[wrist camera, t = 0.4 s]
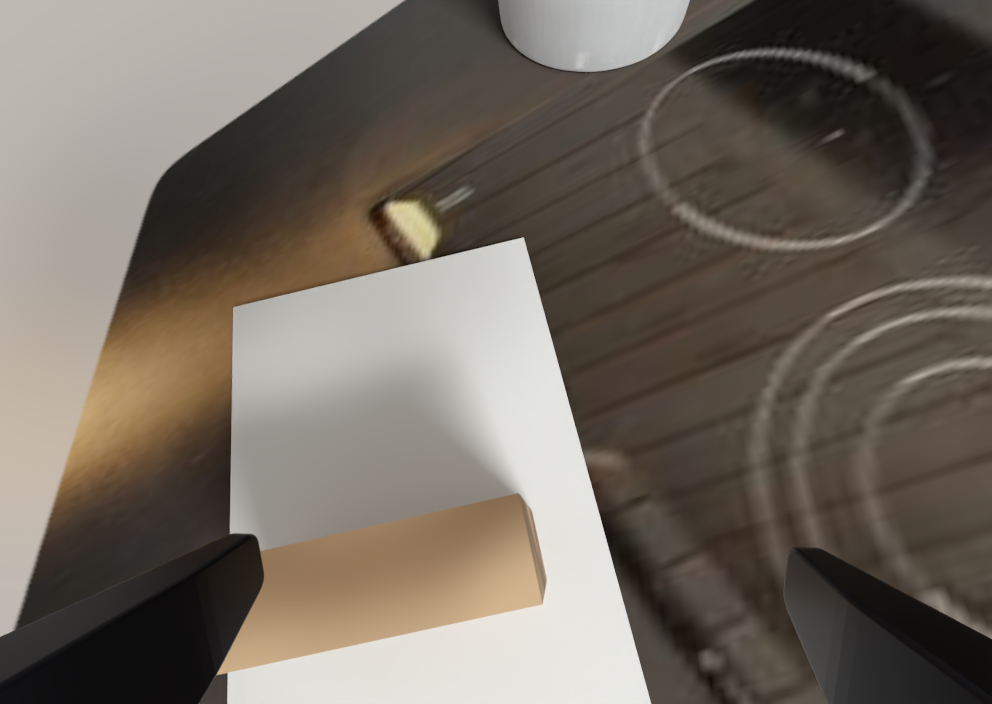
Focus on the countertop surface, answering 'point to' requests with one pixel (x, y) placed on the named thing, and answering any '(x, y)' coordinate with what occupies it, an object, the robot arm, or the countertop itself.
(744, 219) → the countertop surface
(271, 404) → the mat
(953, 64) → the countertop surface
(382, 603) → the oak board
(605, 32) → the utensil holder
